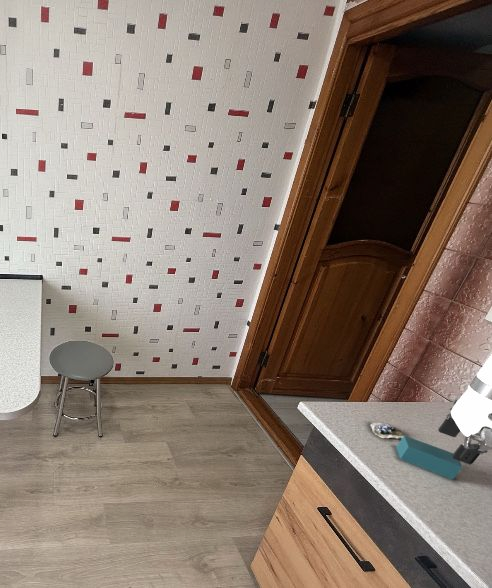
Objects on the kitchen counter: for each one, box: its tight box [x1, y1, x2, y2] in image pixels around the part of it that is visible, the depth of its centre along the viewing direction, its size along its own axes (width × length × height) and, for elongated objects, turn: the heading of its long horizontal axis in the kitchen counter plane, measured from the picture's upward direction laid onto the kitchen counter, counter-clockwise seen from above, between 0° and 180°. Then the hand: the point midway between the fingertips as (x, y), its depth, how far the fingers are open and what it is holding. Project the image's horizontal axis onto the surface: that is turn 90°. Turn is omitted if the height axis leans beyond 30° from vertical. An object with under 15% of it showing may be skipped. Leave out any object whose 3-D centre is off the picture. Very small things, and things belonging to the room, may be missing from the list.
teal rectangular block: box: [395, 434, 463, 481], centre depth 83 cm, size 10×4×4 cm, turn 58°
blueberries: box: [370, 421, 404, 440], centre depth 93 cm, size 7×8×2 cm
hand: (453, 446), depth 80 cm, fingers open, 9 cm apart
